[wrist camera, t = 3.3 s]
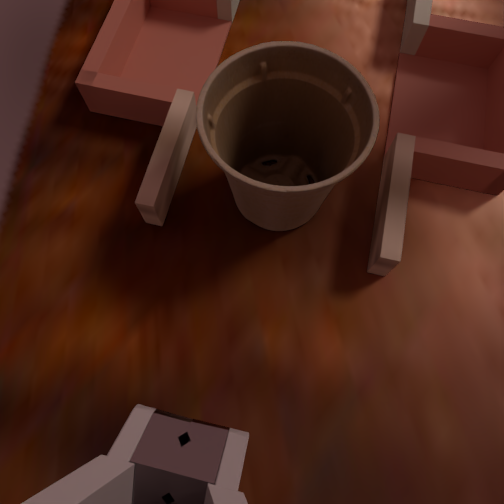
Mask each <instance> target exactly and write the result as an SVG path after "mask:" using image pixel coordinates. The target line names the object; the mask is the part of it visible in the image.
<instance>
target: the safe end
mask: <svg viewBox="0 0 504 504" xmlns="http://www.w3.org/2000/svg"><path fill="white" fill-rule="evenodd" d="M216 1H217V14H218V19H222V20H227V21H232V22H233V19H234V16H235V13H236V10H237V7H238V4H239V1H240V0H216ZM431 7H432V0H407V7H406V13H405V20H404V27H403V34H402V40H401V47H400V53H405V54H410V55H415V54H416V52H417V50H418V48H419V45H420V43H421V41H422V39H423V37H424V35H425V33H426V31H427V29H428V27H429V21H430V14H431Z"/></svg>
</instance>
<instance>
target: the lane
mask: <svg viewBox="0 0 504 504" xmlns="http://www.w3.org/2000/svg"><path fill="white" fill-rule="evenodd" d="M196 109H197V106H196V101H195V95H194V92H192V91H187V90H182V89H177V90H176V93H175V96H174V98H173V101H172V104H171V106H170V109H169V112H168V114H167V117H166V120H165V123H164V125H163V128H162V131H161V133H160V136H159V139H158V141H157V144H156V147H155V149H154V152H153V155H152V157H151V160H150V163H149V165H148V168H147V171H146V173H145V176H144V179H143V181H142V184H141V187H140V189H139V192H138V195H137V197H136V200H135V204H136V206H137V208H138V210H139V211H140V213H141V215H142V217H143V219H144V220H145V222H146V223H150V224H154V225H159V226H163V224H164V221H165V218H166V215H167V212H168V209H169V206H170V203H171V200H172V197H173V194H174V191H175V189H176V186H177V183H178V180H179V177H180V174H181V171H182V168H183V165H184V162H185V159H186V156H187V153H188V150H189V147H190V144H191V141H192V139H193V136H194V133H195V130H196V127H197V121H196ZM415 138H416V136H413V135H408V134H403V133H397V134H396V136H395V138H394V140H393V142H392V144H391V145H390V147H389V149H388V151H387V153H386V155H385V156H384V160H383V166H382V173H381V180H380V186H379V193H378V200H377V207H376V213H375V220H374V227H373V234H372V240H371V247H370V254H369V260H368V267H367V272H368V273H372V274H377V275H381V276H386V275H387V274H388V273H389V272H390V271H391V270H392V269H393V268H394V267H395V266H396V265H397V264H399V263H400V262H401V254H402V246H403V238H404V229H405V221H406V213H407V204H408V196H409V188H410V179H411V171H412V163H413V154H414V146H415Z"/></svg>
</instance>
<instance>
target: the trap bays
mask: <svg viewBox="0 0 504 504" xmlns="http://www.w3.org/2000/svg"><path fill="white" fill-rule="evenodd" d="M231 24H232V21H227V20H222V19H218V14H217V1H216V0H114V2H113V5H112V7H111V9H110V11H109V13H108V15H107V17H106V19H105V21H104V23H103V25H102V27H101V29H100V31H99V34H98V36H97V38H96V40H95V42H94V44H93V46H92V48H91V50H90V52H89V54H88V56H87V58H86V60H85V63H84V65H83V67H82V69H81V71H80V73H79V75H78V77H77V79H76V81H75V84H76V86H77V88H78V90H79V91H80V93H81V95H82V97H83V99H84V101H85V103H86V104H87V106H88V108H89V110H90V111H91V112H96V113H101V114H105V115H110V116H115V117H120V118H125V119H130V120H134V121H139V122H144V123H149V124H154V125H159V126H163V125H164V123H165V120H166V117H167V114H168V112H169V109H170V106H171V104H172V101H173V98H174V96H175V93H176V90H177V89H182V90H187V91H192V92H194V95H195V101H196V106H197V101H198V97H199V94H200V92H201V89H202V87H203V85H204V84H205V82H206V80H207V79H208V77H209V76H210V74H211V73H212V72H213V71H214V70H215V69H216V68H217V65H218V62H219V59H220V56H221V53H222V50H223V47H224V44H225V41H226V38H227V36H228V33H229V30H230V27H231ZM397 133H403V134H408V135H413V136H416V138H415V146H414V154H413V163H412V171H411V178H415V179H420V180H424V181H429V182H434V183H439V184H444V185H449V186H453V187H458V188H463V189H468V190H473V191H478V192H482V193H487V194H492V195H499V194H500V193H501V192H502V191H503V190H504V27H501V26H495V25H489V24H484V23H478V22H472V21H467V20H461V19H456V18H450V17H444V16H439V15H433V14H430V21H429V27H428V29H427V31H426V33H425V35H424V37H423V39H422V41H421V43H420V45H419V48H418V50H417V52H416V54H415V55H410V54H405V53H400V54H399V59H398V65H397V72H396V79H395V85H394V92H393V99H392V106H391V112H390V119H389V126H388V133H387V139H386V146H385V153H384V156H385V155H386V153H387V151H388V149H389V147H390V145H391V144H392V142H393V140H394V138H395V136H396V134H397Z"/></svg>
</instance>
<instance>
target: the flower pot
mask: <svg viewBox="0 0 504 504" xmlns="http://www.w3.org/2000/svg"><path fill="white" fill-rule="evenodd" d="M196 121H197V128H198V133H199V136H200V139H201V142H202V144H203V146H204V148H205V149H206V151H207V153H208V154H209V156H210V157H211V159H212V160H213V161H214V162H215V164H216V165H217V166H218V167H220V168H221V169H222V170H223V171H224V172H225V175H226V177H227V180H228V182H229V185H230V188H231V190H232V193H233V196H234V200H235V203H236V205H237V207H238V209H239V210H240V212H241V213H242V215H243V216H244V217H245V218H246V219H248V220H249V221H251V222H253V223H254V224H256V225H258V226H260V227H262V228H264V229H267V230H272V231H286V230H291V229H294V228H297V227H299V226H301V225H303V224H305V223H306V222H308V221H309V220H310V219H311V218H312V217H313V216H314V215H315V214H316V212H317V211H318V210H319V208H320V206H321V204H322V203H323V201H324V200H325V198H326V197H327V195H328V194H329V192H330V191H331V189H332V188H333V187H334V185H335V184H336V183H338V182H340V181H342V180H343V179H345V178H346V177H348V176H349V175H350V174H352V173H353V172H354V171H355V170H356V169H357V168H358V167H359V166H360V165H361V164H362V163H363V162H364V161H365V159H366V158H367V157H368V155H369V153H370V152H371V150H372V148H373V146H374V144H375V141H376V138H377V134H378V131H379V109H378V105H377V101H376V97H375V95H374V93H373V91H372V89H371V88H370V86H369V84H368V83H367V81H366V80H365V78H364V77H363V76H362V75H361V73H360V72H359V71H358V70H357V69H356V68H355V67H354V66H353V65H351V64H350V63H349V62H348V61H346V60H345V59H343V58H342V57H340V56H338V55H336V54H335V53H333V52H331V51H329V50H327V49H324V48H320V47H318V46H315V45H312V44H307V43H301V42H293V41H279V42H269V43H262V44H259V45H257V46H253V47H250V48H247V49H245V50H242V51H240V52H238V53H236V54H234V55H232V56H231V57H229V58H228V59H226V60H225V61H223V62H222V63H221V64H220V65H219V66H217V68H216V69H215V70H214V71H213V72H212V73H211V74H210V76H209V77H208V79H207V80H206V82H205V84H204V85H203V87H202V89H201V92H200V94H199V97H198V101H197V109H196ZM271 160H275V161H277V163H275V164H271V166H270V165H265V166H264V165H263V164H262V163H264V162H267V161H271ZM307 176H311V178H312V179H313V180H314V184H309V181H308V179H307Z"/></svg>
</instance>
